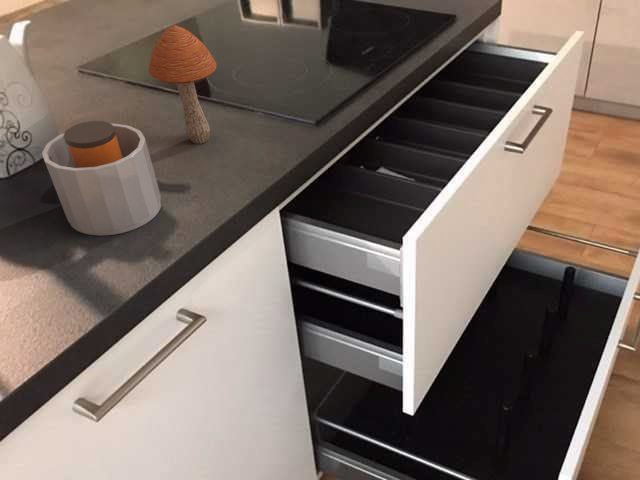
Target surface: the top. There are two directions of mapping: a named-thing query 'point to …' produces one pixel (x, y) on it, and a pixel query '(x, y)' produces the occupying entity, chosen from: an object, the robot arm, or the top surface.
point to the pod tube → (93, 144)
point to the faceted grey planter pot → (106, 186)
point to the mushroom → (184, 74)
